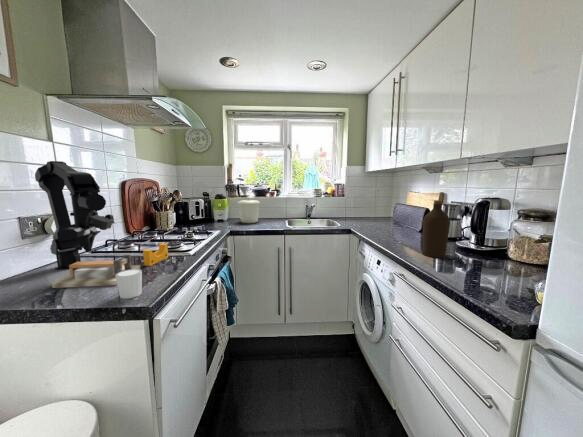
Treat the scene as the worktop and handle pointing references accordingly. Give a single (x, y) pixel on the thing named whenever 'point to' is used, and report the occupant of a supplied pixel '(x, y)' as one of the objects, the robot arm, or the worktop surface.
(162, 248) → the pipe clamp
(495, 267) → the worktop surface
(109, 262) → the tan wooden bar
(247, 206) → the canister
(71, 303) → the worktop surface
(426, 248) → the olive oil
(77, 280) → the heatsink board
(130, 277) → the white cylinder
